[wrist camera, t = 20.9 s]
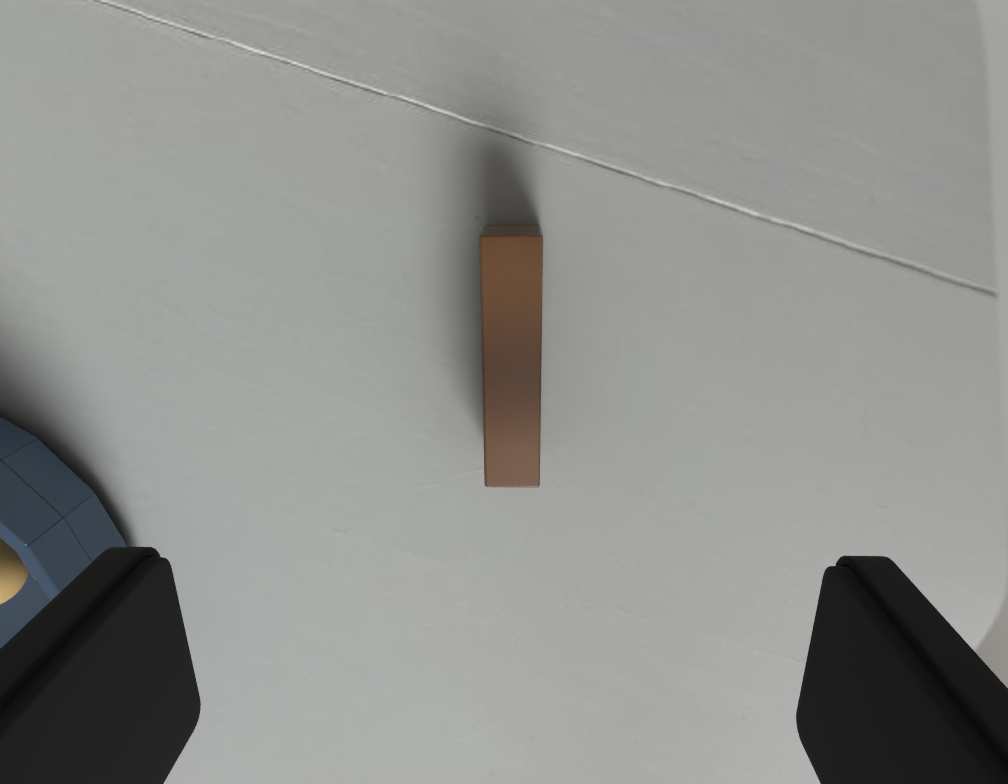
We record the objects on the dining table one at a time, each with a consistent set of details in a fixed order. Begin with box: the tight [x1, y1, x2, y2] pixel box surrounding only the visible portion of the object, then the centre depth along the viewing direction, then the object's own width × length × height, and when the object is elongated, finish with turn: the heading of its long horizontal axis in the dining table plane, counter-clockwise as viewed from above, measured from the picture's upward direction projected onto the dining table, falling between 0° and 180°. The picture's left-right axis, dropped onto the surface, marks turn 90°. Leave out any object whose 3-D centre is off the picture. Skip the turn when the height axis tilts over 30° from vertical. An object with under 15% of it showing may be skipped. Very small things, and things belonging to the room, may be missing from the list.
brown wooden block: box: [480, 225, 543, 487], centre depth 23 cm, size 9×2×3 cm, turn 0°
